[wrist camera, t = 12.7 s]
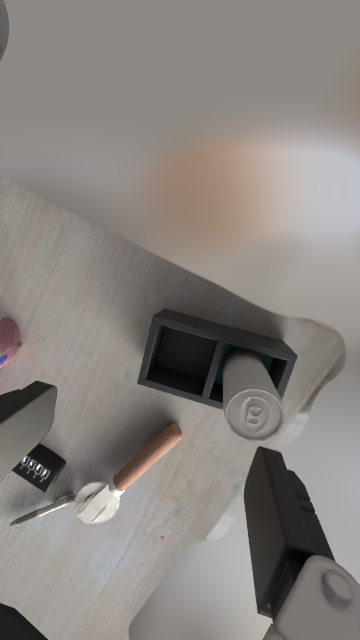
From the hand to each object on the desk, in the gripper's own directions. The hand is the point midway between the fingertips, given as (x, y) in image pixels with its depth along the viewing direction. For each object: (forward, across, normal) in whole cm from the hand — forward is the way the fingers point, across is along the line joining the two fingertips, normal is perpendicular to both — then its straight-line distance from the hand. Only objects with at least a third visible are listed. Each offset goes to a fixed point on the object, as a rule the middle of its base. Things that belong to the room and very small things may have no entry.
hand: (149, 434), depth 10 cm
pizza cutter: (+24, +4, +24) cm, 34 cm away
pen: (+24, +16, +36) cm, 46 cm away
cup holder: (+24, -3, +4) cm, 24 cm away
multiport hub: (+24, +20, +27) cm, 41 cm away
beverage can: (+23, -7, +4) cm, 24 cm away
